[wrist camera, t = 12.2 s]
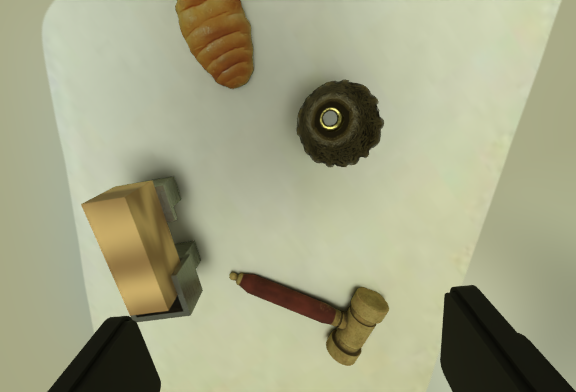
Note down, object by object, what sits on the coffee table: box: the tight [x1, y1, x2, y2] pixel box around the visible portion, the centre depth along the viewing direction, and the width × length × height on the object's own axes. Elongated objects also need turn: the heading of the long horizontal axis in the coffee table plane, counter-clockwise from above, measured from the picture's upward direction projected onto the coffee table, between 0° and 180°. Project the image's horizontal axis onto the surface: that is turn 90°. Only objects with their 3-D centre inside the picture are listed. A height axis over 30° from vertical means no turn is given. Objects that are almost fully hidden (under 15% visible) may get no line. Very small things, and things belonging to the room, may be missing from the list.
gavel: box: [229, 272, 389, 366], centre depth 40 cm, size 21×5×10 cm
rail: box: [81, 180, 180, 316], centre depth 29 cm, size 12×4×5 cm, turn 10°
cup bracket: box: [131, 241, 203, 322], centre depth 35 cm, size 5×6×10 cm
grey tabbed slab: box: [152, 176, 181, 222], centre depth 33 cm, size 4×6×6 cm, turn 100°
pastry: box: [175, 0, 254, 89], centre depth 29 cm, size 9×7×4 cm
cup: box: [297, 80, 384, 167], centre depth 29 cm, size 8×7×8 cm
